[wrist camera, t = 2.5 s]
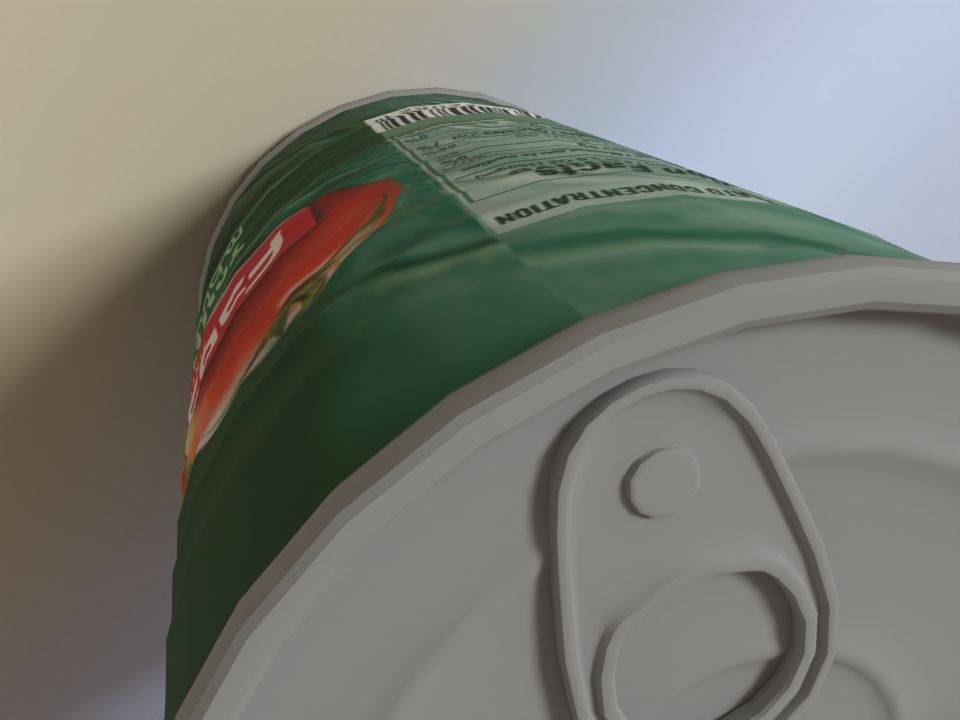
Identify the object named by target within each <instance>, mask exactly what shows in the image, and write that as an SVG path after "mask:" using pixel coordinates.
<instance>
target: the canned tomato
mask: <svg viewBox="0 0 960 720" xmlns="http://www.w3.org/2000/svg"><path fill="white" fill-rule="evenodd" d="M164 720H960V263H951V262H939V261H932V260H929V259H926V258H924V257H921V256H919V255H916V254H914V253H911V252H909V251H907V250H905V249H903V248H900V247H898V246H896V245H894V244H892V243H890V242H887V241H885V240H883V239H881V238H880V237H878V236H875V235H872V234H870V233H867V232H864V231H861V230H858V229H855V228H853V227H850V226H847V225H844V224H841V223H838V222H835V221H833V220H830V219H827V218H824V217H821V216H818V215H816V214H813V213H811V212H808V211H805V210H802V209H799V208H796V207H793V206H791V205H788V204H785V203H782V202H779V201H776V200H774V199H771V198H768V197H765V196H762V195H760V194H757V193H754V192H751V191H749V190H746V189H743V188H740V187H737V186H734V185H731V184H729V183H726V182H723V181H720V180H717V179H715V178H712V177H709V176H706V175H703V174H701V173H698V172H695V171H692V170H689V169H686V168H684V167H681V166H678V165H675V164H673V163H670V162H667V161H664V160H661V159H658V158H655V157H653V156H650V155H647V154H644V153H642V152H639V151H636V150H633V149H630V148H627V147H625V146H622V145H619V144H616V143H613V142H611V141H608V140H605V139H602V138H599V137H597V136H594V135H591V134H588V133H585V132H582V131H580V130H577V129H574V128H571V127H568V126H566V125H563V124H560V123H557V122H554V121H552V120H549V119H546V118H543V117H540V116H537V115H534V114H532V113H529V112H528V111H526V110H525V109H523V108H520V107H518V106H515V105H512V104H509V103H506V102H503V101H501V100H498V99H495V98H492V97H489V96H486V95H484V94H481V93H473V92H465V91H458V90H450V89H442V88H423V89H411V90H399V91H387V92H384V93H380V94H377V95H374V96H370V97H367V98H364V99H360V100H357V101H354V102H350V103H347V104H344V105H340V106H338V107H337V108H335V109H333V110H331V111H329V112H327V113H325V114H324V115H322V116H320V117H318V118H316V119H314V120H312V121H311V122H309V123H307V124H305V125H303V126H301V127H299V128H298V129H296V130H295V131H294V132H293V133H292V134H290V135H289V136H288V137H287V138H286V139H285V140H283V141H282V142H281V143H280V144H279V145H277V146H276V147H275V148H274V149H273V150H272V151H270V152H269V153H268V154H267V155H266V156H264V157H263V158H262V159H261V160H260V161H259V162H258V164H257V165H256V166H255V168H254V169H253V170H252V171H251V173H250V174H249V175H248V176H247V178H246V179H245V180H244V182H243V183H242V184H241V185H240V187H239V188H238V189H237V190H236V192H235V193H234V194H233V196H232V197H231V198H230V200H229V202H228V204H227V206H226V208H225V210H224V212H223V214H222V216H221V219H220V221H219V223H218V225H217V227H216V229H215V231H214V233H213V235H212V237H211V239H210V241H209V245H208V249H207V253H206V258H205V262H204V266H203V270H202V274H201V278H200V282H199V290H198V319H197V334H196V338H195V355H194V359H193V378H192V382H191V403H190V407H189V411H188V434H187V438H186V442H185V469H184V473H183V476H182V500H181V512H180V515H179V519H178V535H177V560H176V564H175V568H174V571H173V588H172V621H171V625H170V628H169V632H168V636H167V640H166V702H165V718H164Z"/></svg>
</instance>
